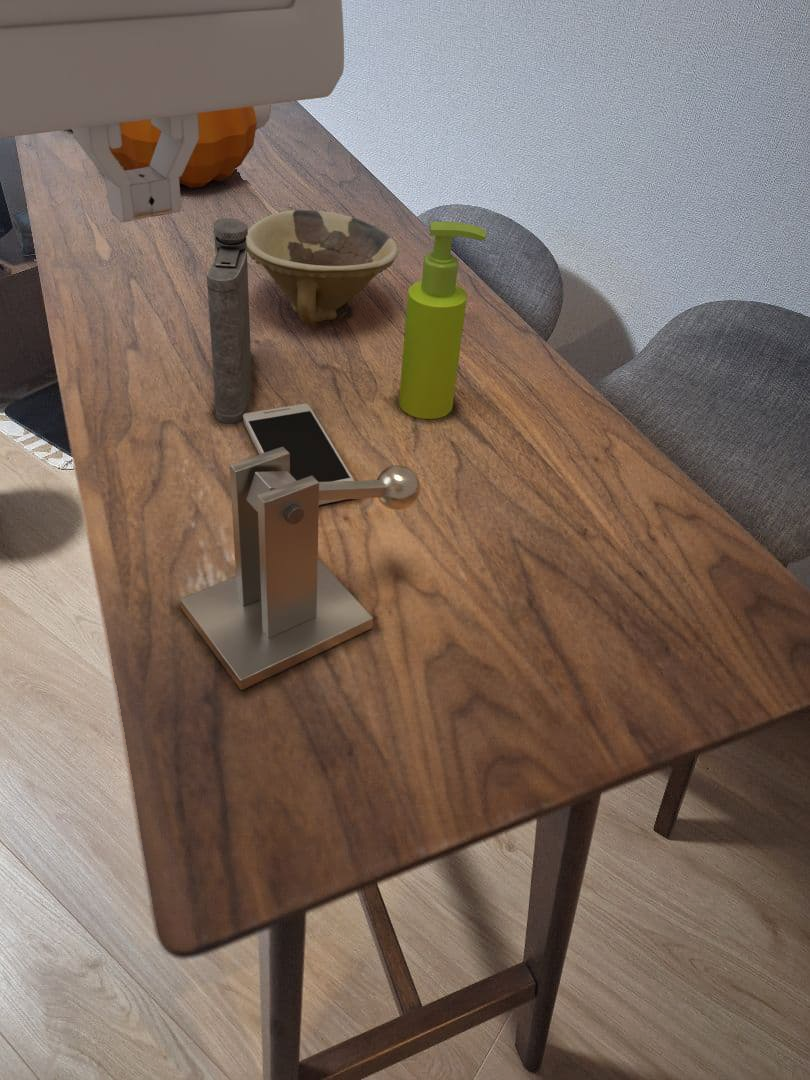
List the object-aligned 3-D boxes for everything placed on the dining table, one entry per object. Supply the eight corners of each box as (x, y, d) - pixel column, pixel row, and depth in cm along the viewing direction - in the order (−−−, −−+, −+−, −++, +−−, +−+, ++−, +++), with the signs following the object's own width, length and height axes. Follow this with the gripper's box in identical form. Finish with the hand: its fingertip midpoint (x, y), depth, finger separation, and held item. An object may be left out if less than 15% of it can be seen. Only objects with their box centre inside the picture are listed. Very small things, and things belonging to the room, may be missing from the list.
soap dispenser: (462, 421, 97) (488, 241, 84) (398, 417, 97) (413, 235, 84) (461, 392, 102) (485, 216, 89) (399, 387, 101) (414, 210, 88)
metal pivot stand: (307, 556, 80) (309, 414, 70) (372, 628, 74) (384, 484, 64) (181, 609, 74) (163, 462, 64) (241, 690, 68) (231, 543, 58)
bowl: (375, 355, 106) (380, 278, 100) (228, 329, 108) (223, 252, 102) (406, 290, 119) (412, 218, 113) (273, 268, 121) (272, 196, 115)
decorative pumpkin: (90, 152, 147) (58, -69, 127) (233, 142, 156) (224, -66, 136) (121, 208, 132) (90, -33, 112) (278, 194, 140) (275, -33, 120)
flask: (255, 352, 105) (249, 196, 93) (251, 424, 94) (245, 258, 82) (222, 352, 104) (213, 195, 92) (215, 423, 94) (203, 256, 82)
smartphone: (287, 511, 84) (287, 503, 83) (241, 420, 94) (241, 412, 94) (360, 497, 86) (360, 489, 86) (307, 409, 97) (308, 402, 96)
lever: (393, 493, 77) (408, 456, 75) (419, 517, 74) (435, 480, 73) (238, 501, 66) (252, 458, 65) (263, 529, 64) (278, 486, 63)
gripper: (300, -153, 41) (299, 160, 50) (-215, -170, 31) (-100, 225, 40) (381, -133, 37) (363, 201, 47) (-173, -144, 28) (-57, 284, 37)
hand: (145, 213), depth 43 cm, fingers closed
